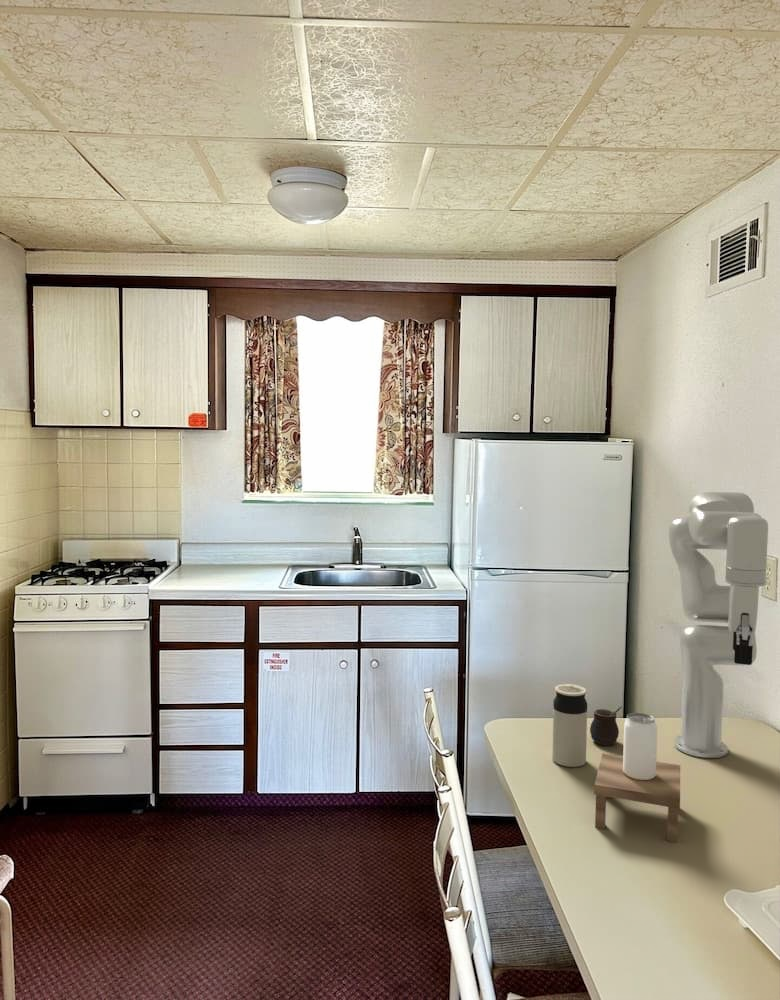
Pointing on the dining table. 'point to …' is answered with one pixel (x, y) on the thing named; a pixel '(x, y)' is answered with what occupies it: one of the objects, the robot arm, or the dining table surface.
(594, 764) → the dining table surface
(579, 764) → the travel mug
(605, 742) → the mate gourd
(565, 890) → the dining table surface
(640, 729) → the can
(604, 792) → the small wooden table
